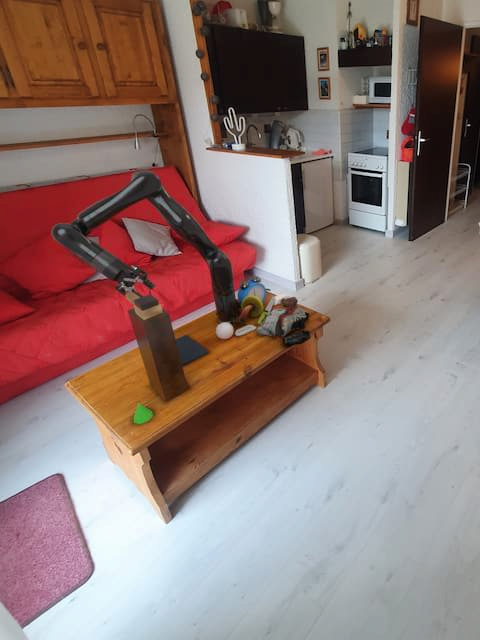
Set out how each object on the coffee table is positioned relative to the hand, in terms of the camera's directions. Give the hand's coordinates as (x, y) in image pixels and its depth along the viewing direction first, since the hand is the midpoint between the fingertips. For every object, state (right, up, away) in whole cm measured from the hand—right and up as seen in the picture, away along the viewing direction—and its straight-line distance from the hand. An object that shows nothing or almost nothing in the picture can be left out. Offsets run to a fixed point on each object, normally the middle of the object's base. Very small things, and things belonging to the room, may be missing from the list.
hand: (148, 294), depth 141 cm
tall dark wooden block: (+9, -34, -3) cm, 35 cm away
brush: (+6, -4, -15) cm, 16 cm away
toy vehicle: (+39, -5, +52) cm, 66 cm away
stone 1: (+44, -14, +33) cm, 56 cm away
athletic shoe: (+44, -8, +26) cm, 52 cm away
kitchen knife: (+36, -10, +43) cm, 56 cm away
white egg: (+22, -17, +20) cm, 34 cm away
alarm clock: (+25, -8, +49) cm, 56 cm away
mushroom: (+25, -10, +27) cm, 38 cm away
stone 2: (+45, -7, +51) cm, 69 cm away
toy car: (+51, -18, +20) cm, 58 cm away
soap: (+27, -16, +29) cm, 43 cm away
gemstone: (+7, -40, -16) cm, 44 cm away
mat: (+6, -24, +16) cm, 29 cm away
